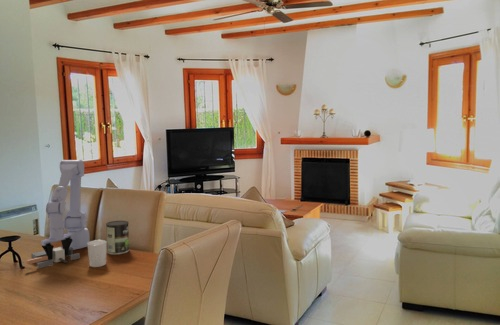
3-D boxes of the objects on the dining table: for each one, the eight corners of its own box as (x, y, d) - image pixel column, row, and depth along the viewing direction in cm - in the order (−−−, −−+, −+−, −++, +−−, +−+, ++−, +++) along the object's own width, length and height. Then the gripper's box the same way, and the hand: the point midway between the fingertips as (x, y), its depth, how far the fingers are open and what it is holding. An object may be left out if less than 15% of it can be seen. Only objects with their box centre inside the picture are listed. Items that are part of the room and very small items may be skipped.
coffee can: (132, 248, 198) (131, 220, 197) (125, 254, 188) (124, 225, 187) (111, 248, 199) (110, 220, 197) (103, 254, 188) (102, 225, 187)
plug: (61, 257, 183) (60, 246, 183) (72, 263, 176) (71, 251, 176) (50, 260, 180) (50, 249, 179) (61, 265, 173) (61, 254, 172)
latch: (46, 258, 173) (46, 255, 173) (48, 259, 172) (47, 256, 172) (27, 263, 167) (26, 260, 167) (28, 264, 166) (28, 260, 166)
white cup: (110, 261, 178) (109, 240, 177) (102, 268, 171) (101, 245, 170) (93, 261, 179) (92, 239, 178) (84, 267, 171) (83, 244, 170)
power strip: (67, 252, 192) (66, 245, 191) (79, 258, 183) (79, 250, 183) (26, 262, 178) (26, 254, 178) (38, 268, 170) (38, 260, 169)
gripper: (65, 223, 187) (66, 251, 188) (35, 230, 174) (37, 260, 175) (75, 224, 184) (76, 253, 185) (46, 232, 171) (47, 263, 172)
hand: (58, 257), depth 180 cm, fingers open, 7 cm apart
